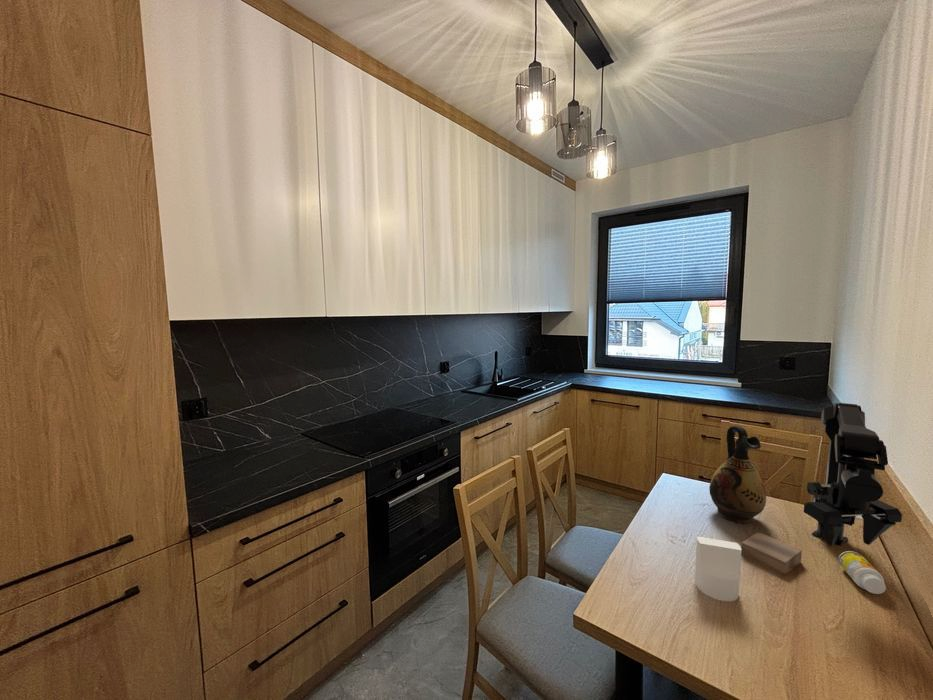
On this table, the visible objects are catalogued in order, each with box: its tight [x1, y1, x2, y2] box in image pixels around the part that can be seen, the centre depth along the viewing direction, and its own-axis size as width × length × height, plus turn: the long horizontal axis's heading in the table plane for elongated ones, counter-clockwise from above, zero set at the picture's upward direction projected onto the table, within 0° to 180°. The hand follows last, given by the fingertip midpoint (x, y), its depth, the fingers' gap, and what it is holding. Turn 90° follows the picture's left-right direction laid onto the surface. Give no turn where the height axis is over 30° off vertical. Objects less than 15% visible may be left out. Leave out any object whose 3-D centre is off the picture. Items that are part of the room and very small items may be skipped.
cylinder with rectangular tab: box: [694, 536, 742, 602], centre depth 92 cm, size 9×9×12 cm
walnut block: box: [740, 531, 803, 576], centre depth 103 cm, size 10×10×4 cm
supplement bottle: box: [838, 550, 887, 595], centre depth 94 cm, size 6×6×10 cm
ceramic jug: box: [708, 425, 767, 524], centre depth 125 cm, size 17×15×30 cm
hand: (848, 544), depth 91 cm, fingers open, 9 cm apart
